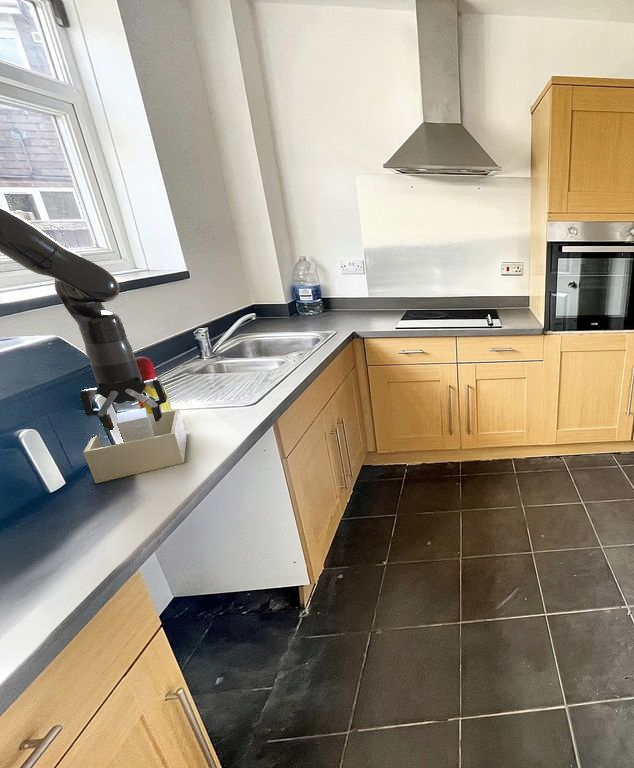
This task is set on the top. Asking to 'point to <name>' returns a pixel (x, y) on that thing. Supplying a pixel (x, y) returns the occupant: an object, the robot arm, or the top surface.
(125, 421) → the small box
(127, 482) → the top surface
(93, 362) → the robot arm
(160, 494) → the top surface
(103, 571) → the top surface
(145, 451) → the beige open box
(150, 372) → the bottle
